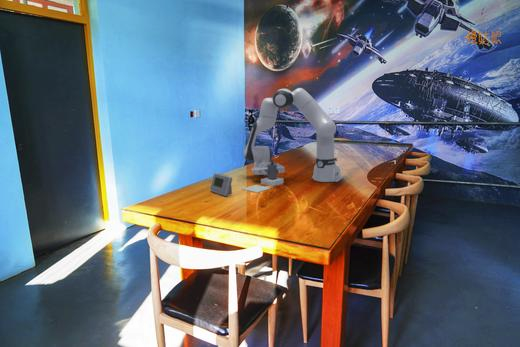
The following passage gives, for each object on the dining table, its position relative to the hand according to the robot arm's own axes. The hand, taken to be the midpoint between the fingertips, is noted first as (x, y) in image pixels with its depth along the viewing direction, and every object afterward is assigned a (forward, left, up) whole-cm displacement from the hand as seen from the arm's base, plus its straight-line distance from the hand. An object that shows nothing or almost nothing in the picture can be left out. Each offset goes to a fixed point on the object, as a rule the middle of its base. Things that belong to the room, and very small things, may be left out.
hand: (272, 172), depth 217 cm
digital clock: (+35, -9, -7) cm, 37 cm away
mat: (+16, 0, -7) cm, 17 cm away
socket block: (0, -1, -7) cm, 7 cm away
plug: (0, -1, -7) cm, 7 cm away
